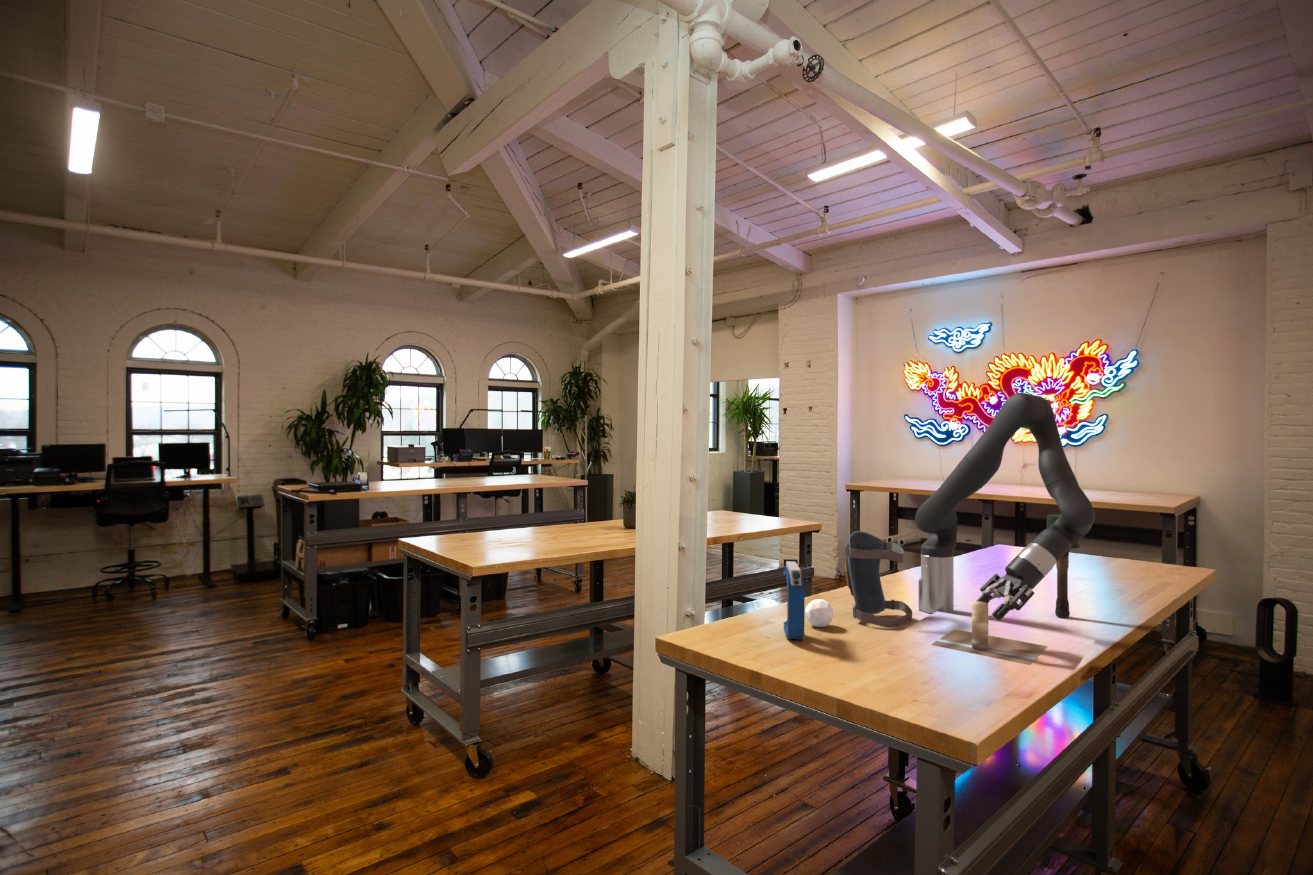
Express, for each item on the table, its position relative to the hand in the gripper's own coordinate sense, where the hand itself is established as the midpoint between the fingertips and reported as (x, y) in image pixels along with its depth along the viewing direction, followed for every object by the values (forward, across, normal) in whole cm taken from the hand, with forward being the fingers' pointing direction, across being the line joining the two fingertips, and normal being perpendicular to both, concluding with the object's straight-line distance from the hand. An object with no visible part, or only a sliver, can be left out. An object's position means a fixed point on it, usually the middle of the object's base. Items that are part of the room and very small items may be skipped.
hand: (985, 612), depth 161 cm
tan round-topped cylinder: (+7, 0, +5) cm, 9 cm away
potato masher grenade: (-22, -32, +37) cm, 53 cm away
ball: (+31, -26, -16) cm, 44 cm away
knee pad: (+18, -32, -3) cm, 37 cm away
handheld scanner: (+38, -17, -23) cm, 48 cm away
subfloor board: (+6, -2, +9) cm, 11 cm away
